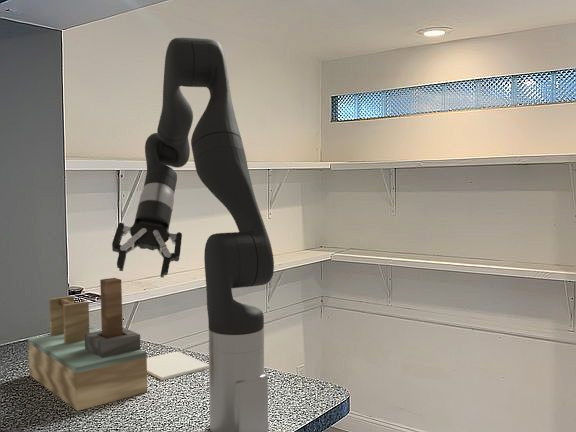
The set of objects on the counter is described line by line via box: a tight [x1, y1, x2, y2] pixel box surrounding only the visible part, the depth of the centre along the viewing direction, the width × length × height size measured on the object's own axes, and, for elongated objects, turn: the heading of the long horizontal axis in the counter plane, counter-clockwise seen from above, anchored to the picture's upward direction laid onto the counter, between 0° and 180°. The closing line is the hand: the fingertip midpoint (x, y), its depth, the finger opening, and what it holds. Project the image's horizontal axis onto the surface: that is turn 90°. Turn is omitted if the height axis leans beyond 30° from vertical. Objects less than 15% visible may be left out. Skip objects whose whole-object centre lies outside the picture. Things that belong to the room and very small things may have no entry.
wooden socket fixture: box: [27, 295, 148, 412], centre depth 122 cm, size 26×14×16 cm, turn 41°
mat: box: [147, 351, 209, 381], centre depth 133 cm, size 14×12×1 cm
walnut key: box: [99, 277, 124, 339], centre depth 118 cm, size 3×3×14 cm
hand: (141, 272), depth 125 cm, fingers open, 8 cm apart
